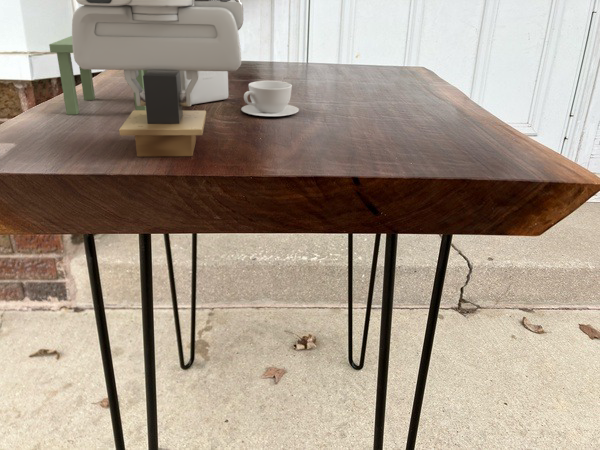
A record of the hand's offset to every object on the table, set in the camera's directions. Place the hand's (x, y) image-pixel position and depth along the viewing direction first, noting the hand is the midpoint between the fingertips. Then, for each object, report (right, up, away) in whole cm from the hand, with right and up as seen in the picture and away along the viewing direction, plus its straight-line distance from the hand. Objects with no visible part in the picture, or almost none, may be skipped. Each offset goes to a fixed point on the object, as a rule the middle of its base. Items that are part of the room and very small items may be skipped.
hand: (164, 105), depth 69 cm
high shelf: (-15, +5, +24) cm, 28 cm away
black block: (0, -2, +1) cm, 2 cm away
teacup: (+12, +4, +23) cm, 26 cm away
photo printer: (0, +7, +29) cm, 30 cm away
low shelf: (0, -5, +3) cm, 6 cm away
